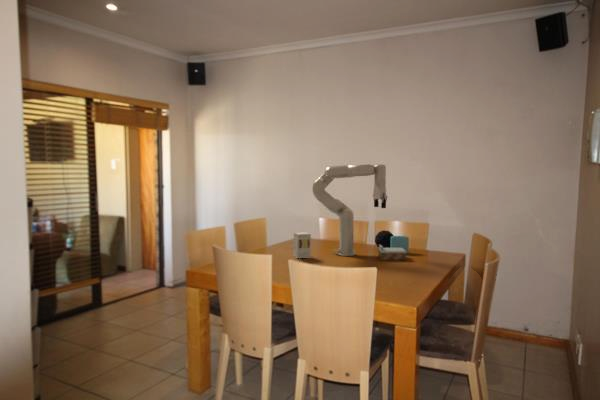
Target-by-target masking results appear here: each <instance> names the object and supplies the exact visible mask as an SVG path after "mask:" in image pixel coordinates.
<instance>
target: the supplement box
mask: <svg viewBox="0 0 600 400" xmlns="http://www.w3.org/2000/svg"><path fill="white" fill-rule="evenodd" d="M311 235H312V234H311V233H309V232H307V231H301V232H293V257H294V258H295V257H296V258H295V259H297V258H299V259H298V260H301V259H300V258H309V259H311V251H312V250H311V245H312V243H311V238H312V237H311Z"/></svg>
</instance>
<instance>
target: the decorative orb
mask: <svg viewBox="0 0 600 400" xmlns="http://www.w3.org/2000/svg"><path fill="white" fill-rule="evenodd" d="M391 236H394V234H393V233H392V232H391V231H390V230H385V229H384V230H380V231H379V232H378V233H376V235H375V237H374V243H375V245H376V246H377V248H379V245H382V246H383V248H390V238H391Z"/></svg>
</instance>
